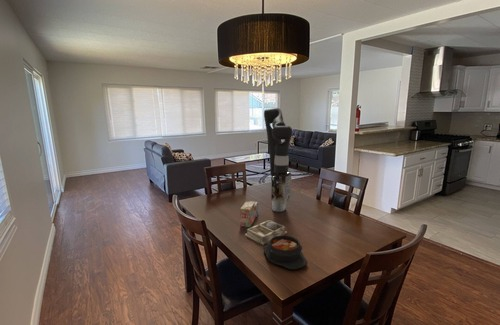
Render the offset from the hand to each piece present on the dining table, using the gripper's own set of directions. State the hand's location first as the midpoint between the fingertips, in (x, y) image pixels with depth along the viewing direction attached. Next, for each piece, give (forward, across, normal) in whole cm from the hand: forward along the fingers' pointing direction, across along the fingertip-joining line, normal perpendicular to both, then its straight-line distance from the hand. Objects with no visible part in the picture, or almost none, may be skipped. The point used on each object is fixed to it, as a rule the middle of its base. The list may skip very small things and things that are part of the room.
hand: (280, 192), depth 141 cm
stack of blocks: (+28, -5, -30) cm, 41 cm away
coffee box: (+5, 0, 0) cm, 5 cm away
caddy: (+27, +2, -9) cm, 29 cm away
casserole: (+28, +14, +14) cm, 34 cm away
